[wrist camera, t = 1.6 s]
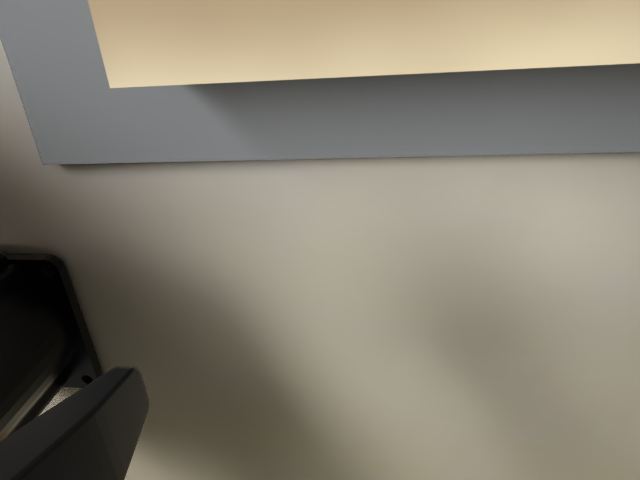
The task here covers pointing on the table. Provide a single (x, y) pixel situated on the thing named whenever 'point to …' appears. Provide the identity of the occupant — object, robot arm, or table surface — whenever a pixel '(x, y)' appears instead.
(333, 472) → the table surface
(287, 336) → the table surface
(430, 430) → the table surface
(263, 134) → the mat
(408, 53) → the t block
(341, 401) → the table surface
